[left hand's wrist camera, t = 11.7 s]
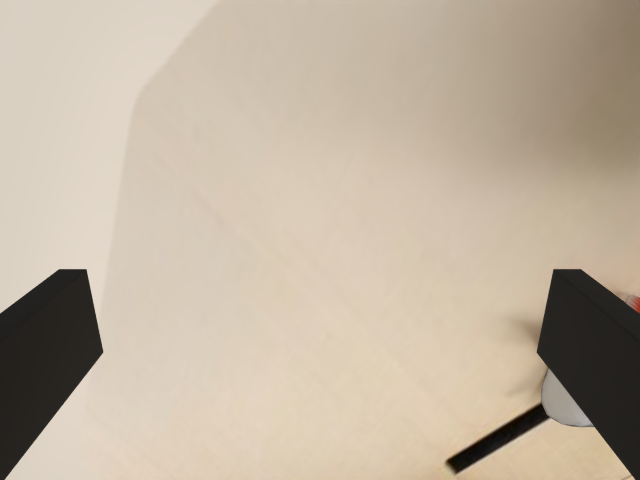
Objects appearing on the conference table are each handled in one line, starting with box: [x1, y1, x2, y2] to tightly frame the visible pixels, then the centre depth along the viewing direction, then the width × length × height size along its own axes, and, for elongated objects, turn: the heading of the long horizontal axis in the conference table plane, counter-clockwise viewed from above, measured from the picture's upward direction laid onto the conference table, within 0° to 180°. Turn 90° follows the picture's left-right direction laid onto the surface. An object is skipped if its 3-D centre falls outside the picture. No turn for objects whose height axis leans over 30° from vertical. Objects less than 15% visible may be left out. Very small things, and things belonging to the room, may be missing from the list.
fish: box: [541, 295, 640, 427], centre depth 40 cm, size 11×16×10 cm
